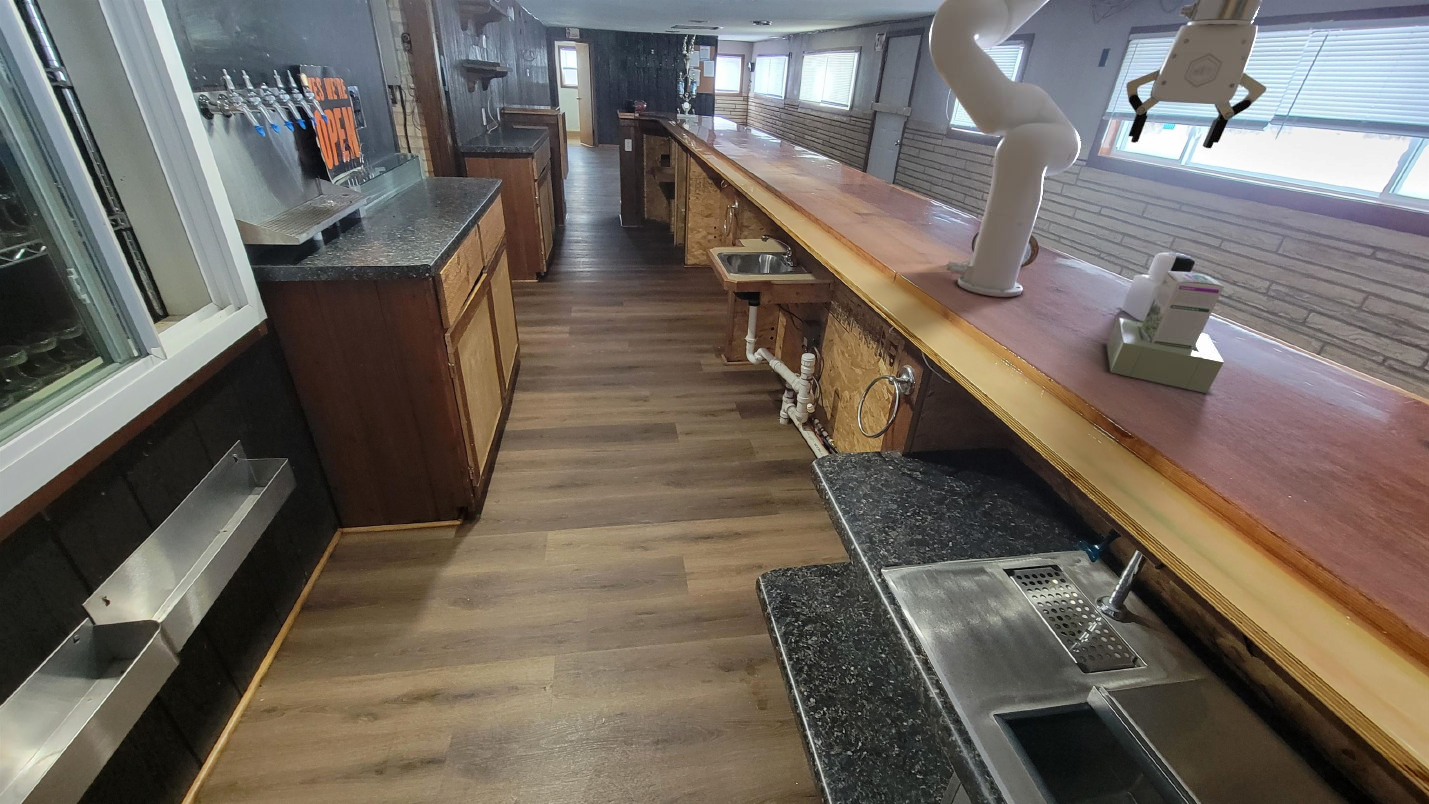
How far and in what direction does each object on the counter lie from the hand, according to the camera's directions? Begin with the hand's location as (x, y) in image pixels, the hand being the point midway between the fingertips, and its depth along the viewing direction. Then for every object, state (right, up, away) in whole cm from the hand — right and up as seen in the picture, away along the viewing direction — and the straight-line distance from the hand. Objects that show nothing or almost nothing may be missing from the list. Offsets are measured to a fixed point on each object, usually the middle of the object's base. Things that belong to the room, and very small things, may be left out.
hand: (1169, 144), depth 90 cm
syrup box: (-4, -36, -1) cm, 36 cm away
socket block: (-4, -36, -2) cm, 36 cm away
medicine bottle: (+11, -25, +19) cm, 33 cm away
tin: (-3, -8, +48) cm, 49 cm away
